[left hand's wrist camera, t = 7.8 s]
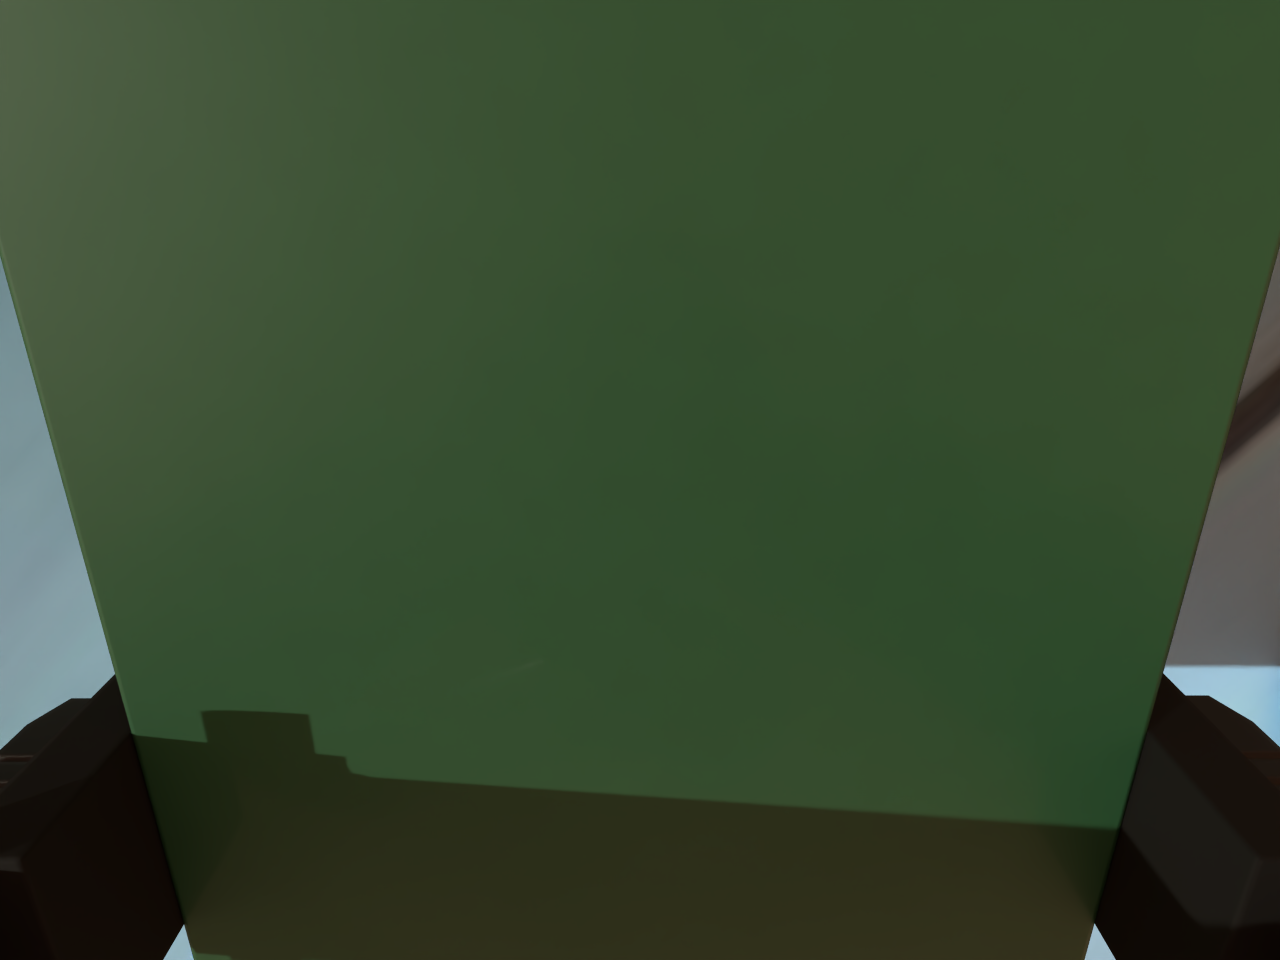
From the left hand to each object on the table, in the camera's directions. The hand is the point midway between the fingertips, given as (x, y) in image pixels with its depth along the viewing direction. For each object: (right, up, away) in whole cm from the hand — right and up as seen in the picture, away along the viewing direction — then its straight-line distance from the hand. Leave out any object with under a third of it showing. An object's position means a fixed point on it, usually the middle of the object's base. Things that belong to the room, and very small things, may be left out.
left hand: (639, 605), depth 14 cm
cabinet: (0, +9, +3) cm, 9 cm away
